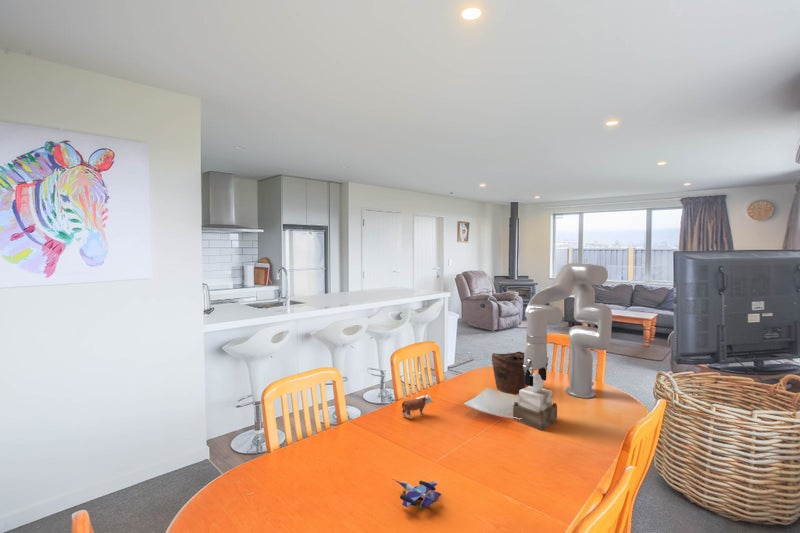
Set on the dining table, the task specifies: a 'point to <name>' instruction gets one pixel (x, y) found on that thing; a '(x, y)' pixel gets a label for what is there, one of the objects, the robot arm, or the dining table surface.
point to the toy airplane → (419, 493)
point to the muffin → (537, 383)
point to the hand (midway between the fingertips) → (535, 382)
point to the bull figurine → (415, 405)
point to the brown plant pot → (509, 371)
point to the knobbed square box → (535, 408)
